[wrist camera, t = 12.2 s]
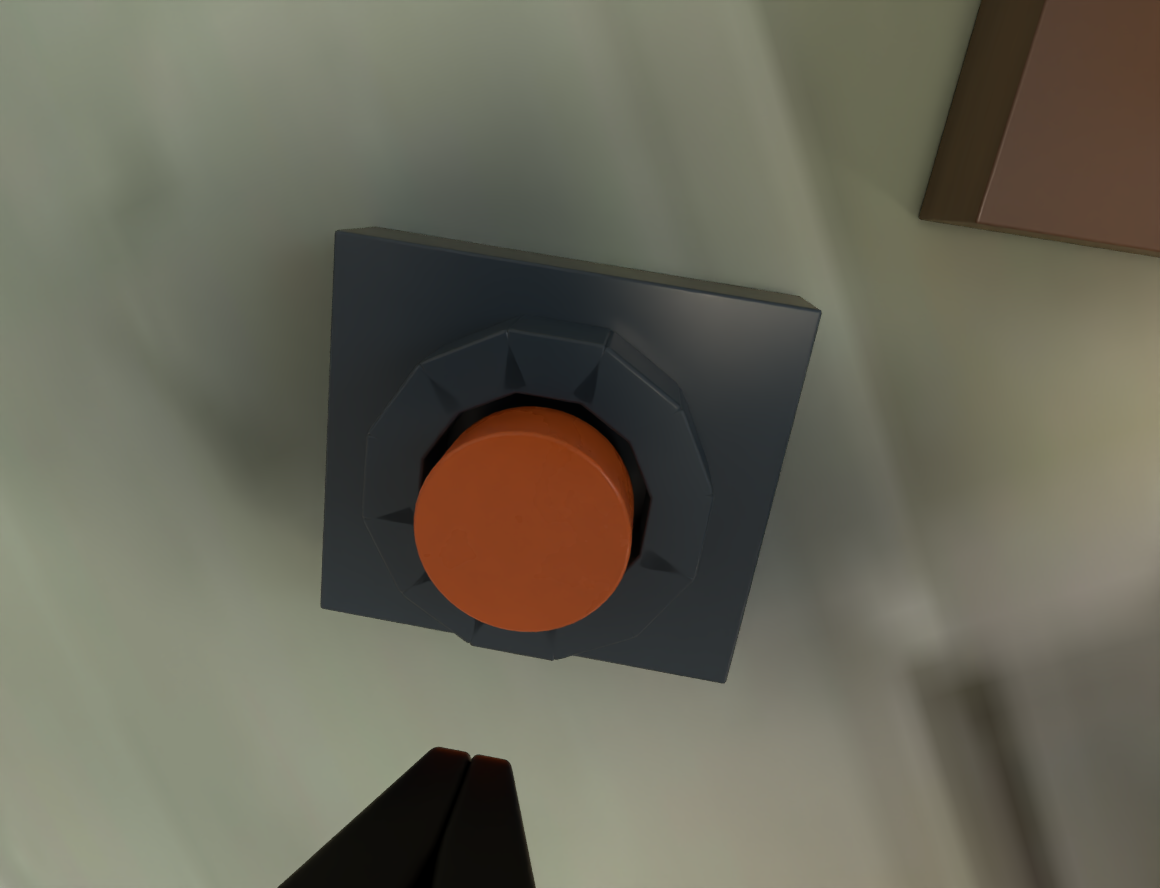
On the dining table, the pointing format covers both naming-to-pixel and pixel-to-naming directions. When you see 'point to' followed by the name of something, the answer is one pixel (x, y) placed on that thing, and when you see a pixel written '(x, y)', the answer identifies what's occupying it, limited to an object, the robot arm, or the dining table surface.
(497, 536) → the button
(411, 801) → the robot arm
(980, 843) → the dining table surface
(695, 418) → the button housing
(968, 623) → the dining table surface
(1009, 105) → the dial panel
